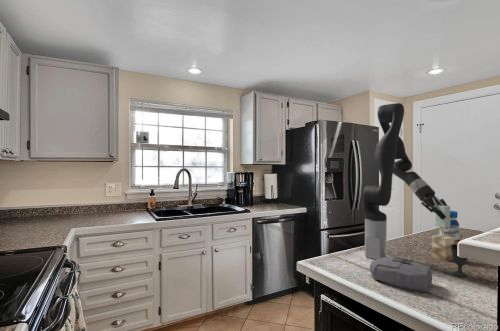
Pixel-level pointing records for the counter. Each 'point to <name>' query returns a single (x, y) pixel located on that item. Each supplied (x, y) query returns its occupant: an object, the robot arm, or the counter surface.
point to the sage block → (446, 221)
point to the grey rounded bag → (402, 273)
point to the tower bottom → (442, 254)
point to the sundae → (458, 260)
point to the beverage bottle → (451, 227)
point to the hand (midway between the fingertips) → (447, 217)
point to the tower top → (442, 242)
